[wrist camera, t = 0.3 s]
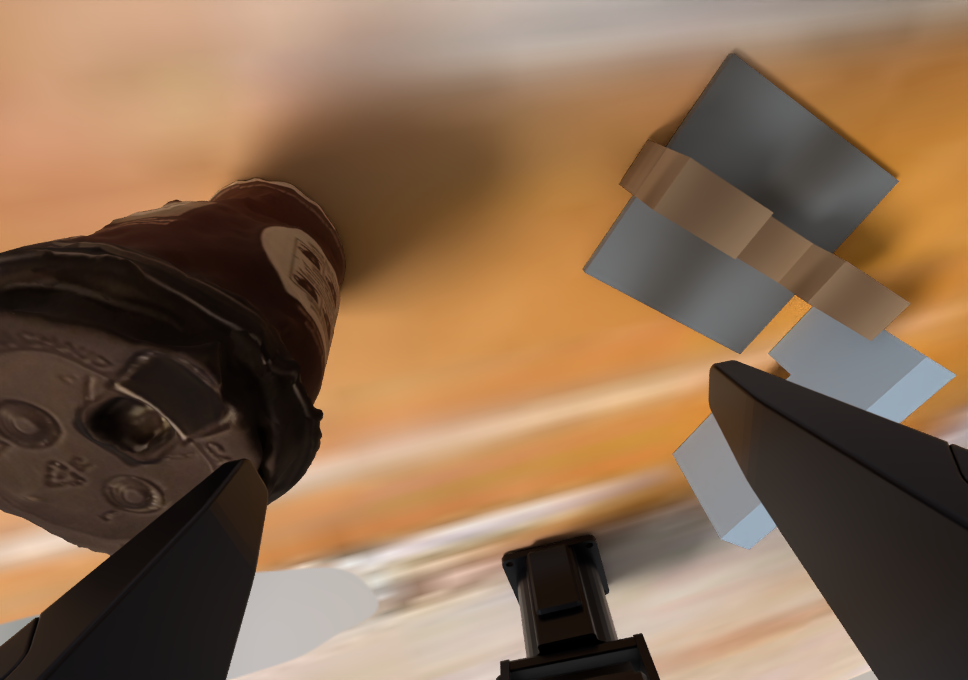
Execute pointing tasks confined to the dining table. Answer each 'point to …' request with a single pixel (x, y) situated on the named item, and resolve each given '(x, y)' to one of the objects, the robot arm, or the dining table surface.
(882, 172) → the slotted base
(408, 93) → the dining table surface
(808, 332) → the pale blue slat
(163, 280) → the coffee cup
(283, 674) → the dining table surface
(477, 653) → the dining table surface
